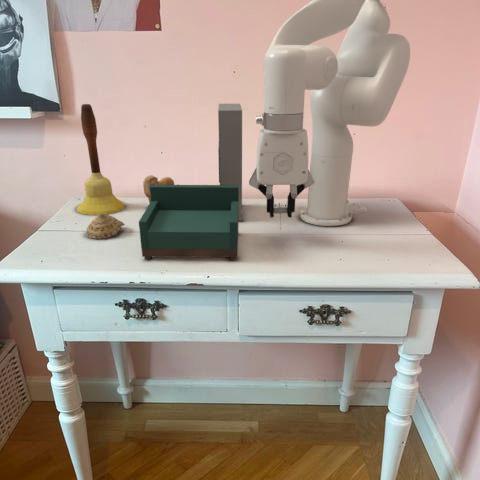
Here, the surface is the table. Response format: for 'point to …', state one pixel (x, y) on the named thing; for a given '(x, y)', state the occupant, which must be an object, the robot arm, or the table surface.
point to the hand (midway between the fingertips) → (280, 214)
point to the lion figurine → (154, 181)
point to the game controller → (279, 211)
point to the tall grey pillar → (230, 147)
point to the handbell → (96, 173)
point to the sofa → (191, 221)
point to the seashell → (103, 227)
